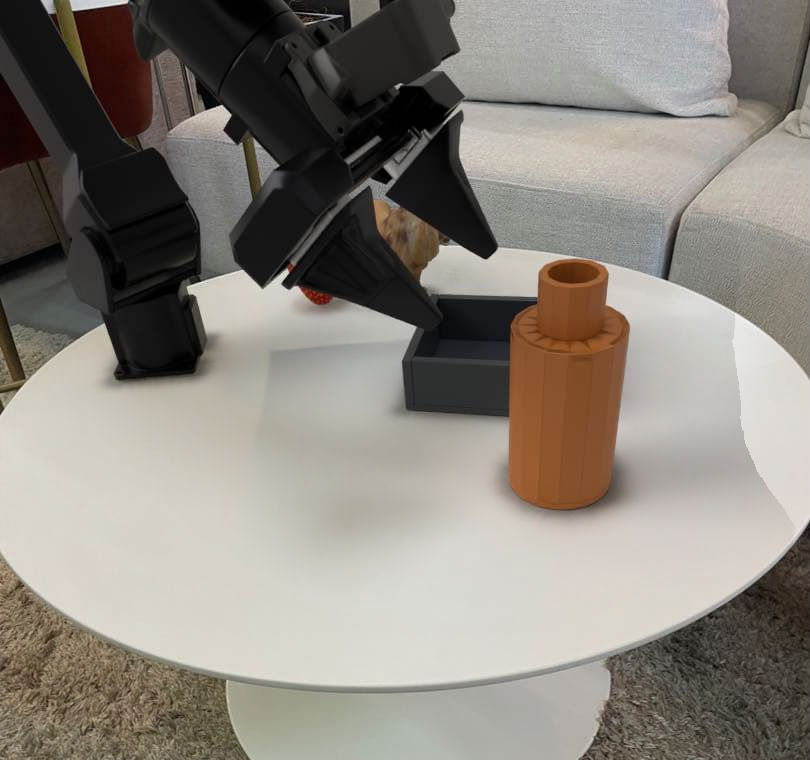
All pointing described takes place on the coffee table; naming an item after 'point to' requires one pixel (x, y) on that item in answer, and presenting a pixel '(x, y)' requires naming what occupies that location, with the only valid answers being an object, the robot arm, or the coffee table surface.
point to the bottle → (566, 387)
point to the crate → (463, 356)
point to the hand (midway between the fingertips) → (466, 287)
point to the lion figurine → (409, 237)
